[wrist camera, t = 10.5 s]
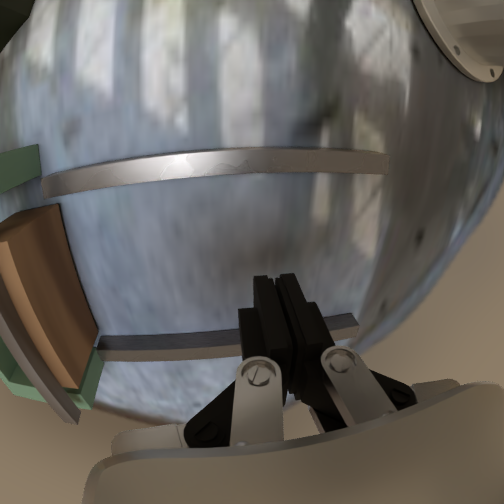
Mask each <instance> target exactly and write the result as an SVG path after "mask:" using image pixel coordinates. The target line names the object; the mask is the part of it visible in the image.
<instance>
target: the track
mask: <svg viewBox="0 0 504 504" xmlns="http://www.w3.org/2000/svg"><path fill="white" fill-rule="evenodd" d="M389 158H390V155H387V154H383V153H379V152H374V151H364V150H351V149H336V148H315V147H242V148H221V149H205V150H193V151H182V152H172V153H163V154H155V155H147V156H140V157H133V158H126V159H120V160H114V161H108V162H103V163H98V164H92V165H87V166H83V167H78V168H73V169H69V170H65V171H60V172H56V173H53V174H50V175H48V176H46V177H44V178H41V185H42V190H43V196H44V199H47V198H52V197H56V196H61V195H66V194H71V193H77V192H82V191H88V190H94V189H100V188H106V187H112V186H119V185H126V184H133V183H141V182H149V181H158V180H167V179H176V178H187V177H199V176H212V175H227V174H246V173H275V172H337V173H365V174H383V175H388V170H389ZM323 319H324V321H325V323H326V325H327V328H328V330H329V332H330V334H331V336H332V339H333V341H338V340H343V339H348V338H352V337H356V336H357V332H358V329H359V326H360V325H359V324H358V322H357V321H356V319H355V318H354V316H353V315H352V314H351V313H349V314H343V315H338V316H332V317H326V318H323ZM96 351H97V353H98V355H99V357H100V359H101V361H127V362H142V361H179V360H197V359H211V358H223V357H233V356H242V351H241V342H240V332H239V329H235V330H225V331H214V332H201V333H186V334H168V335H143V336H101V337H100V340H99V343H98V345H97V348H96Z"/></svg>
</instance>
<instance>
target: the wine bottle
mask: <svg viewBox="0 0 504 504" xmlns="http://www.w3.org/2000/svg"><path fill="white" fill-rule="evenodd" d="M34 1H35V0H0V52H1V51H2V50H3V48H4V47H5V46H6V44H7V43H8V42H9V40H10V39H11V38H12V36H13V35H14V34H15V33H16V31H17V30H18V29H19V28H20V27H21V25H22V24H23V23H24V22H25V21H26V20H27V19H28V17H29V15H30V12H31V9H32V6H33V4H34Z"/></svg>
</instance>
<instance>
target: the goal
mask: <svg viewBox="0 0 504 504" xmlns="http://www.w3.org/2000/svg"><path fill="white" fill-rule="evenodd" d="M40 175H42V174H41V167H40V159H39V150H38V144H35V145H31V146H27V147H23V148H19V149H15V150H11V151H8V152H4V153H1V154H0V194H1V193H3V192H5V191H7V190H9V189H11V188H13V187H15V186H17V185H20V184H22V183H24V182H26V181H28V180H30V179H33V178H35V177H37V176H40ZM103 366H104V362H103V361H101V359H100V357H99V355H98V353H97V351H96V347H93V348H92V350H91V353H90V356H89V359H88V362H87V365H86V368H85V371H84V374H83V377H82V380H81V383H80V386H79V389H76V388H68V387H62V388H63V389H64V390H65V392H66V393H67V394H68V396H69V397H70V398H71V400H72V401H73V402H74V404H75V405H76V406H77V407H78V408H83V409H90V410H92V407H93V403H94V399H95V395H96V391H97V387H98V383H99V380H100V376H101V373H102V369H103ZM0 378H1V379H2V380H3V382H4V383H5V384H6V385H7V387H8V388H9V389H10V390H11V392H12V393H13V394H14V395H17V396H21V397H25V398H29V399H33V400H37V401H42V402H46V401H45V399H44V398H43V397H42V396H41V394H40V393H39V392H38V391H37V389H36V388H35V387H34V385H33V384H32V383H31V381H30V380H29V379H28V377H27V376H26V375H25V373H24V372H23V370H22V369H21V367H20V366H19V364H18V363H17V361H16V360H15V358H14V357H13V355H12V354H11V352H10V351H9V349H8V347H7V346H6V344H5V342H4V341H3V339H2V337H1V336H0Z"/></svg>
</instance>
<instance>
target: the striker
mask: <svg viewBox="0 0 504 504" xmlns="http://www.w3.org/2000/svg"><path fill="white" fill-rule="evenodd" d="M97 334H98V330H97V327H96V325H95V323H94V320H93V318H92V315H91V313H90V310H89V308H88V305H87V302H86V300H85V297H84V294H83V292H82V289H81V286H80V283H79V280H78V277H77V274H76V271H75V268H74V264H73V261H72V258H71V254H70V251H69V247H68V244H67V240H66V236H65V232H64V228H63V224H62V220H61V215H60V210H59V206H58V204H54V205H49V206H44V207H39V208H34V209H30V210H25V211H21V212H17V213H14V214H13V215H11V216H10V217H8V218H7V219H5V220H4V221H2V222H1V223H0V336H1V337H2V339H3V341H4V342H5V344H6V346H7V347H8V349H9V351H10V352H11V354H12V355H13V357H14V358H15V360H16V361H17V363H18V364H19V366H20V367H21V369H22V370H23V372H24V373H25V375H26V376H27V377H28V379H29V380H30V381H31V383H32V384H33V385H34V387H35V388H36V389H37V391H38V392H39V393H40V394H41V396H42V397H43V398H44V399H45V401H46V402H47V403H48V404H49V405H50V406H51V408H52V409H53V410H54V411H55V412H56V413H57V414H58V416H59V417H60V418H61V419H62V420H63V421H64V422H66V423H71V424H76V425H78V422H79V418H80V414H81V411H80V410H79V409H78V407H77V406H76V405H75V404H74V402H73V401H72V400H71V398H70V397H69V396H68V394H67V393H66V392H65V390H64V389H63V388H62V387H68V388H76V389H79V386H80V383H81V380H82V377H83V374H84V371H85V368H86V365H87V362H88V359H89V356H90V353H91V350H92V348H93V345H94V342H95V340H96V337H97Z"/></svg>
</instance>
